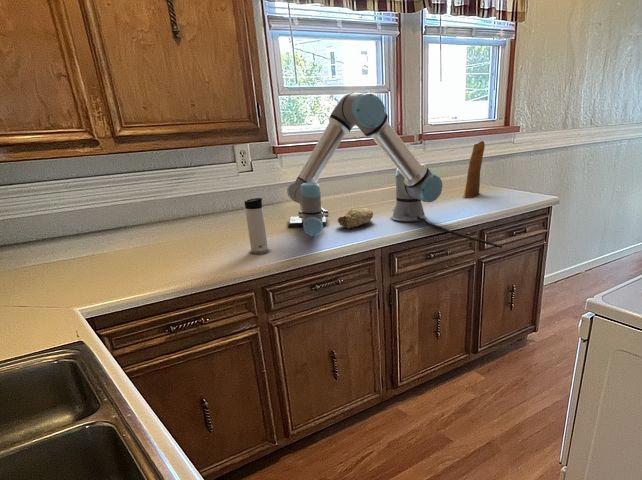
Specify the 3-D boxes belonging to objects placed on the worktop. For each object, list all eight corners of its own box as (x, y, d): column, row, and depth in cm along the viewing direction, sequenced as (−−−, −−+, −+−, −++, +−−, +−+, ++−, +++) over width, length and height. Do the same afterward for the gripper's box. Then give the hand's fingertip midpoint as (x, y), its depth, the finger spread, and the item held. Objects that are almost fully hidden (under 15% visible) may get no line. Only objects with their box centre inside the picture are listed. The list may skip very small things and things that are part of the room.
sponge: (353, 233, 225) (384, 216, 236) (347, 216, 222) (379, 199, 232) (335, 233, 234) (365, 216, 245) (329, 217, 231) (360, 200, 241)
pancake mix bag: (485, 193, 297) (489, 140, 283) (471, 199, 282) (474, 144, 269) (474, 192, 300) (477, 140, 286) (459, 198, 285) (462, 143, 272)
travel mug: (264, 254, 195) (257, 200, 185) (248, 253, 196) (240, 199, 186) (271, 249, 200) (265, 196, 191) (255, 248, 201) (248, 196, 192)
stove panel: (325, 219, 243) (325, 214, 242) (326, 226, 231) (325, 222, 230) (291, 220, 241) (290, 215, 240) (289, 228, 229) (289, 223, 228)
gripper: (298, 228, 217) (300, 215, 237) (329, 226, 218) (328, 214, 239) (296, 209, 213) (298, 198, 234) (328, 208, 215) (327, 197, 235)
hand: (313, 206), depth 236 cm, fingers closed
